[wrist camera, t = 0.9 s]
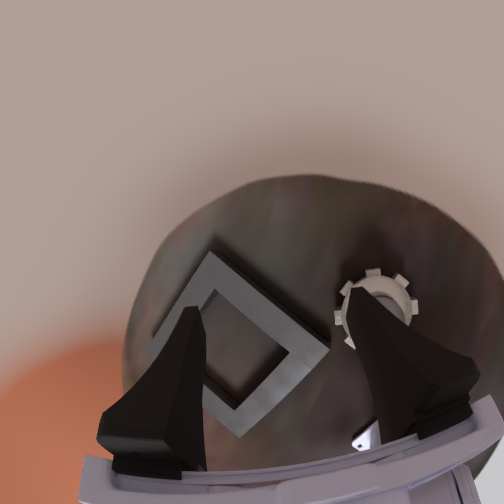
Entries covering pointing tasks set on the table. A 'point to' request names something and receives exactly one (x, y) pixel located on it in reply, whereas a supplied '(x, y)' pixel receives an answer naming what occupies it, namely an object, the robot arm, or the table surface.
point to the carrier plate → (263, 315)
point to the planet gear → (379, 297)
